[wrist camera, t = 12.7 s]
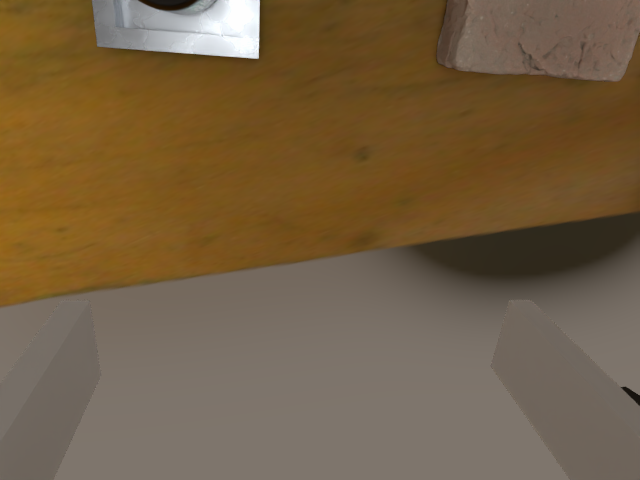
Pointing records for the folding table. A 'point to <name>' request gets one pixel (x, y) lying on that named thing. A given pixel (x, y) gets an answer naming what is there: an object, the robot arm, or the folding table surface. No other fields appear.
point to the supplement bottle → (179, 5)
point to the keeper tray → (180, 28)
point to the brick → (540, 37)
